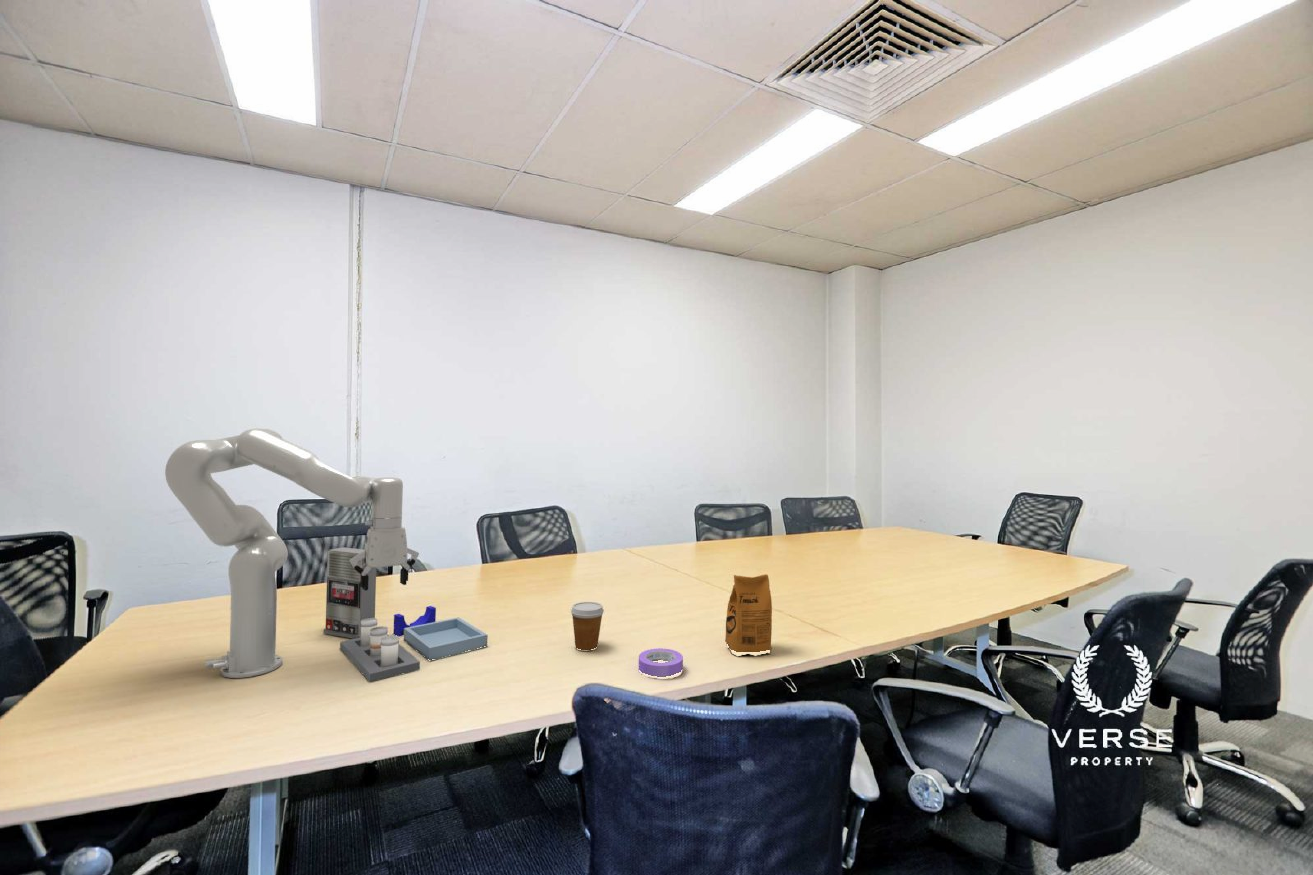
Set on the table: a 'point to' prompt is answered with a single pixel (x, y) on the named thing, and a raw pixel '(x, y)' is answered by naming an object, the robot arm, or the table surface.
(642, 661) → the masking tape
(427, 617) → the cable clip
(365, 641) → the cylinder
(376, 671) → the fuse holder
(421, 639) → the tray
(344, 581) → the cassette tape recorder
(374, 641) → the marked fuse
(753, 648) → the coffee package
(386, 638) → the cylinder
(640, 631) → the table surface
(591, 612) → the disposable coffee cup
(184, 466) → the robot arm
